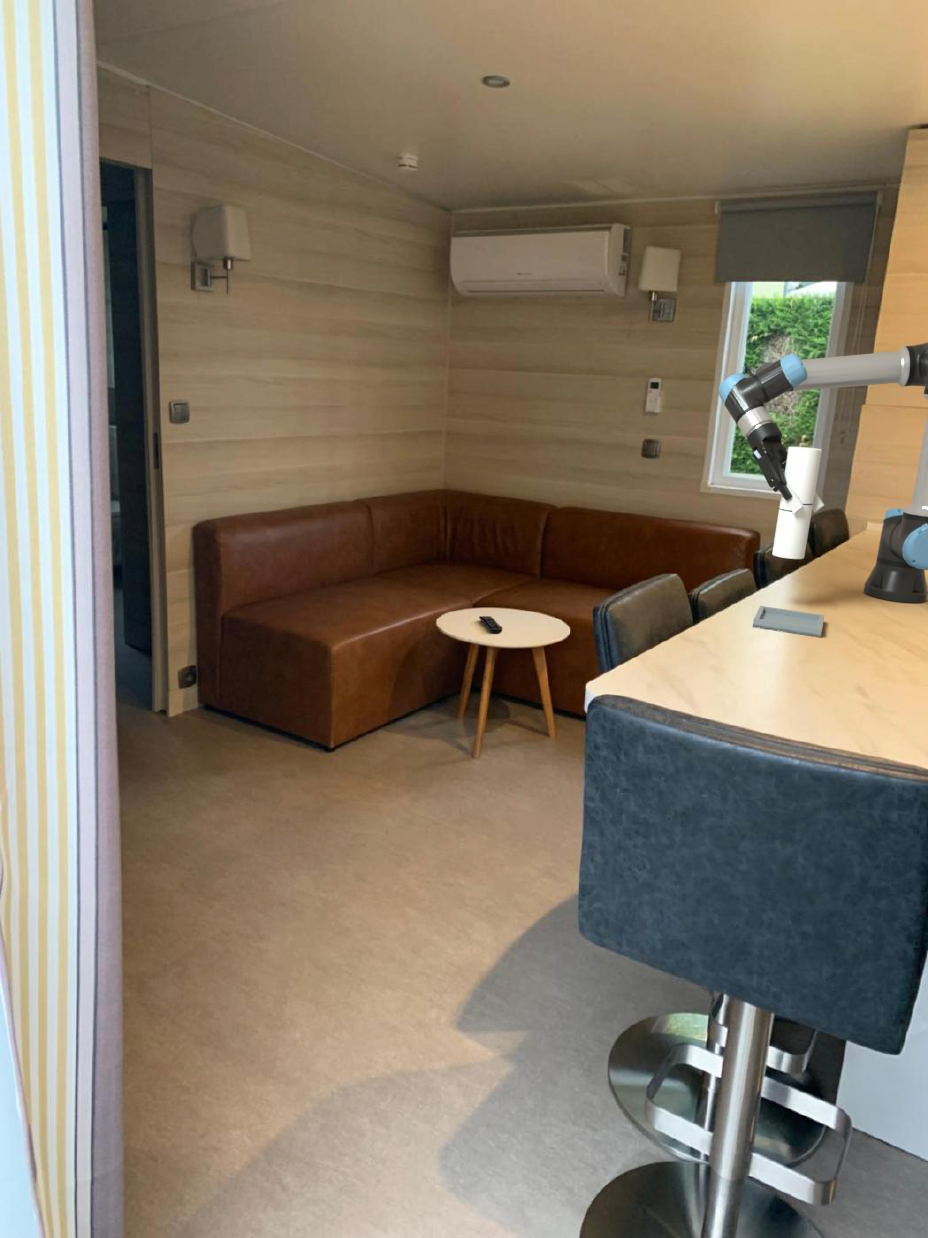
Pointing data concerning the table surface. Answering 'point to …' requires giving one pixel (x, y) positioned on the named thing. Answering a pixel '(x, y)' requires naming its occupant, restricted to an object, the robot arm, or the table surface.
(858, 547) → the table surface
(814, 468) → the cylindrical container
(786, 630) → the tray
